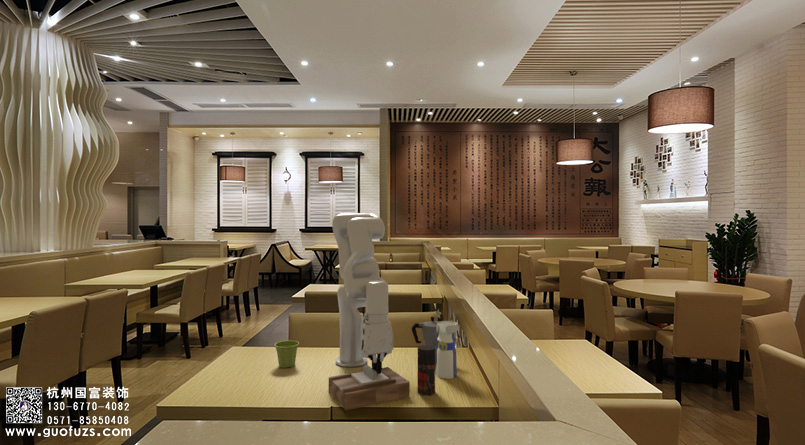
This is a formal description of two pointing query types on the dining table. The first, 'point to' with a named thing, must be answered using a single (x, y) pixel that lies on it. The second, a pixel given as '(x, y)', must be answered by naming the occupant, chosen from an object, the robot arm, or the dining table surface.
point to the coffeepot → (428, 334)
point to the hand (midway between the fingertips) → (376, 372)
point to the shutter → (368, 376)
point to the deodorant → (426, 370)
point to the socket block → (367, 390)
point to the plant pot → (286, 353)
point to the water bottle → (446, 349)
